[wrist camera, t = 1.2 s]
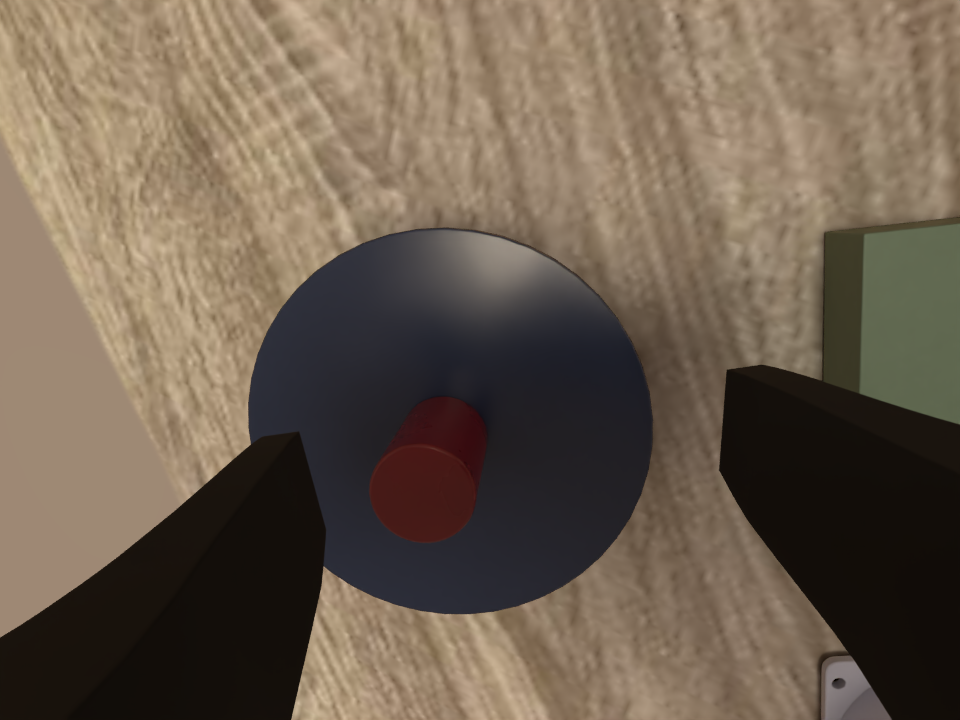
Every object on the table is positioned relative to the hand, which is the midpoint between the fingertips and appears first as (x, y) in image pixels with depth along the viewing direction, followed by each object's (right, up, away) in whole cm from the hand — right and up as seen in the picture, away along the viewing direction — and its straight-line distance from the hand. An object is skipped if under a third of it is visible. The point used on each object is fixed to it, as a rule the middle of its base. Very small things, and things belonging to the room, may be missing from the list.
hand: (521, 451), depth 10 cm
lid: (-2, 0, +7) cm, 7 cm away
